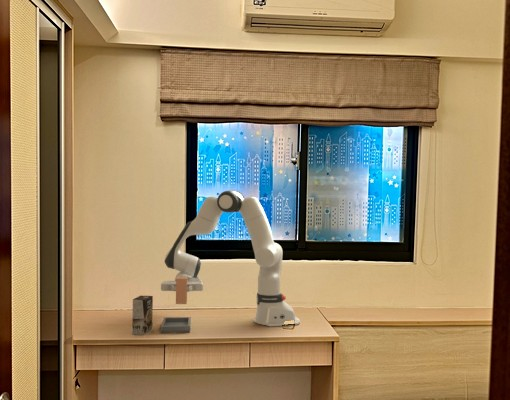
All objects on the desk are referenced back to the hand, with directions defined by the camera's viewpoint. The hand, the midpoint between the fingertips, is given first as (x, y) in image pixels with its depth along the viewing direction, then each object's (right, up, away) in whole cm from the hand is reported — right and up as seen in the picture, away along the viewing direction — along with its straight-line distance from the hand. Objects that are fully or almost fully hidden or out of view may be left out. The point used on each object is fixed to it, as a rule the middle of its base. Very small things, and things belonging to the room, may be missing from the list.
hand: (181, 289), depth 246 cm
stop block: (0, -6, +1) cm, 7 cm away
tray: (-2, -18, 0) cm, 18 cm away
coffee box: (-17, -19, -7) cm, 26 cm away
